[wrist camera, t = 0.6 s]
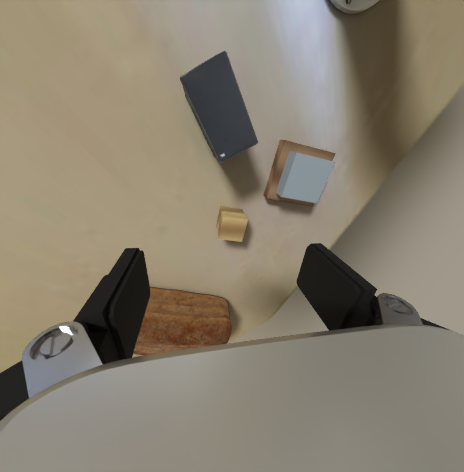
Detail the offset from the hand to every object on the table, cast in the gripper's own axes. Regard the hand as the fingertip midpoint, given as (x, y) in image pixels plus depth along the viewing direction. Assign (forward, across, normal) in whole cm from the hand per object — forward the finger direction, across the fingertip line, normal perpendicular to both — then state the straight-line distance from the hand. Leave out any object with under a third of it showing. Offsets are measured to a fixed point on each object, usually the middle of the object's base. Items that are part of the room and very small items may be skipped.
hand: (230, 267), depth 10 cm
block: (+30, -5, +9) cm, 31 cm away
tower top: (+27, -19, -2) cm, 33 cm away
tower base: (+30, -19, -2) cm, 35 cm away
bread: (+31, +8, +35) cm, 48 cm away
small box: (+30, -2, -10) cm, 31 cm away
